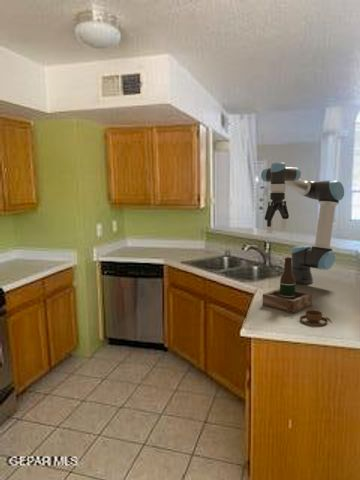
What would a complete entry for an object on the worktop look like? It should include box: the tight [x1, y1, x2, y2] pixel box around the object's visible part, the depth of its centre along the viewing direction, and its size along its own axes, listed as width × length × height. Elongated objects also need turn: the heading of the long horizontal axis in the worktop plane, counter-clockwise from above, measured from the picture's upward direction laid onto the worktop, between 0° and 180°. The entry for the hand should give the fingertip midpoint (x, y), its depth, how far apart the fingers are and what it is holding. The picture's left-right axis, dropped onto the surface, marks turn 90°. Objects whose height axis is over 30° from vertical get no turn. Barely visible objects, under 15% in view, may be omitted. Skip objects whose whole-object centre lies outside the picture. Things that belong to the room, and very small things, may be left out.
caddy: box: [262, 287, 313, 314], centre depth 195 cm, size 18×18×6 cm
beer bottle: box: [279, 256, 296, 300], centre depth 193 cm, size 8×8×24 cm
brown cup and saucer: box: [286, 302, 333, 327], centre depth 175 cm, size 18×20×6 cm
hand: (276, 231), depth 204 cm, fingers open, 13 cm apart
